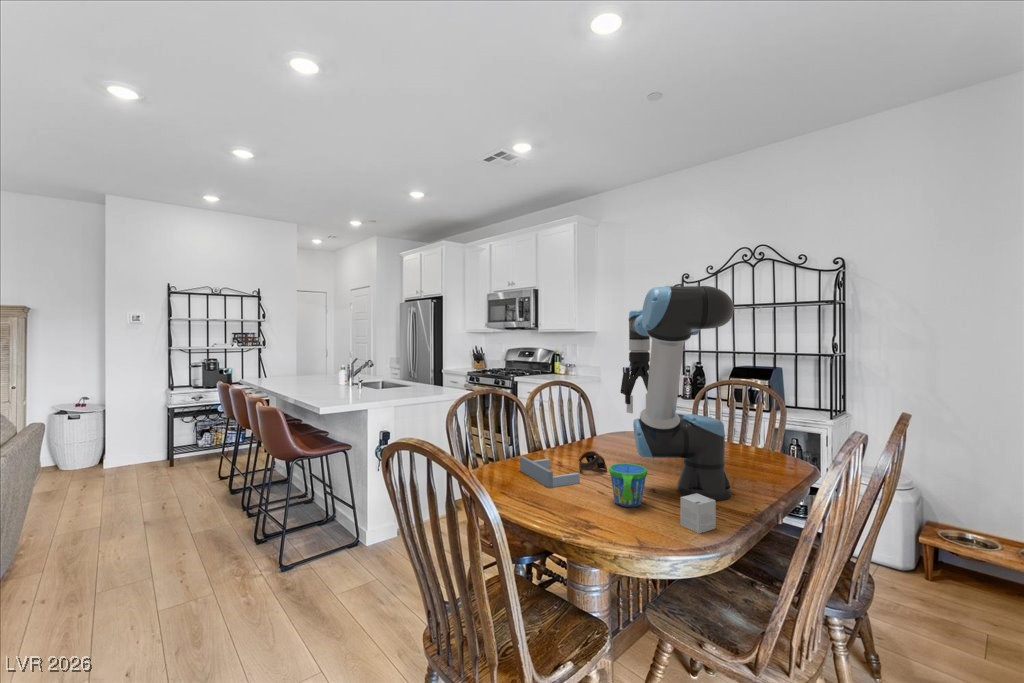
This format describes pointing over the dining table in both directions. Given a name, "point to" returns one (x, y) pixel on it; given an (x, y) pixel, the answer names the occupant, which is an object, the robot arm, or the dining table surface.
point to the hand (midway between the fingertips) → (639, 411)
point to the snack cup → (628, 483)
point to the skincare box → (698, 513)
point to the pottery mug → (592, 461)
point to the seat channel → (546, 473)
